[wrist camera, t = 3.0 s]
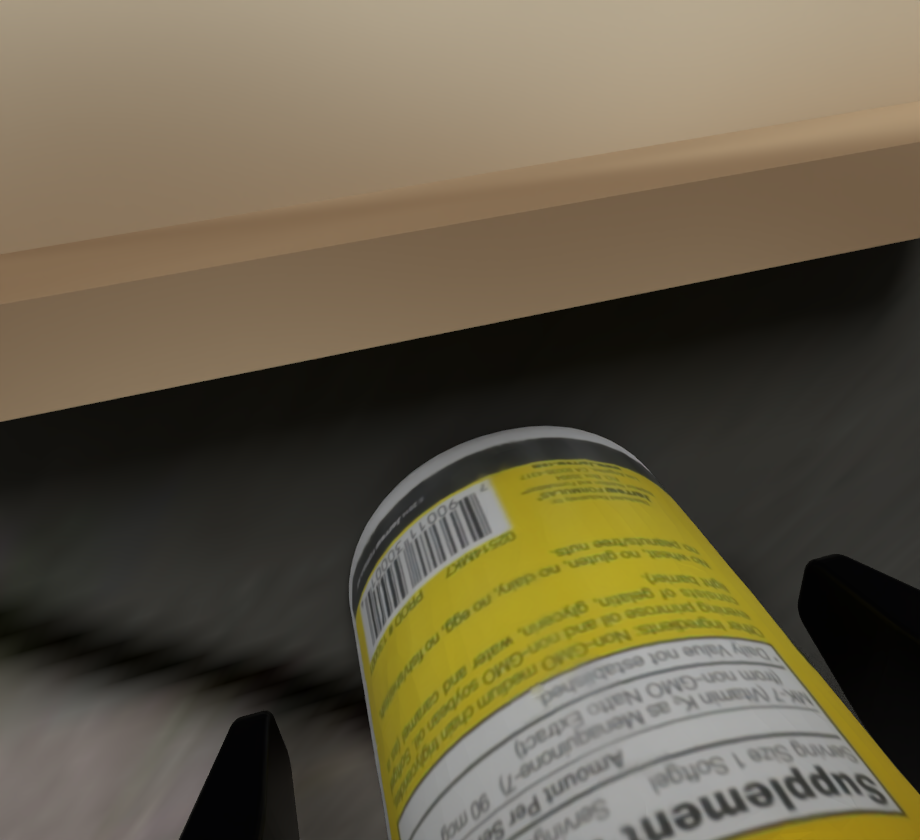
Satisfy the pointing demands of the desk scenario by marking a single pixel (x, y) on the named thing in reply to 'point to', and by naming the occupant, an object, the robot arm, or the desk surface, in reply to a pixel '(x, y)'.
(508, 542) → the supplement bottle
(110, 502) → the desk surface
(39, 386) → the wooden tray
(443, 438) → the desk surface
